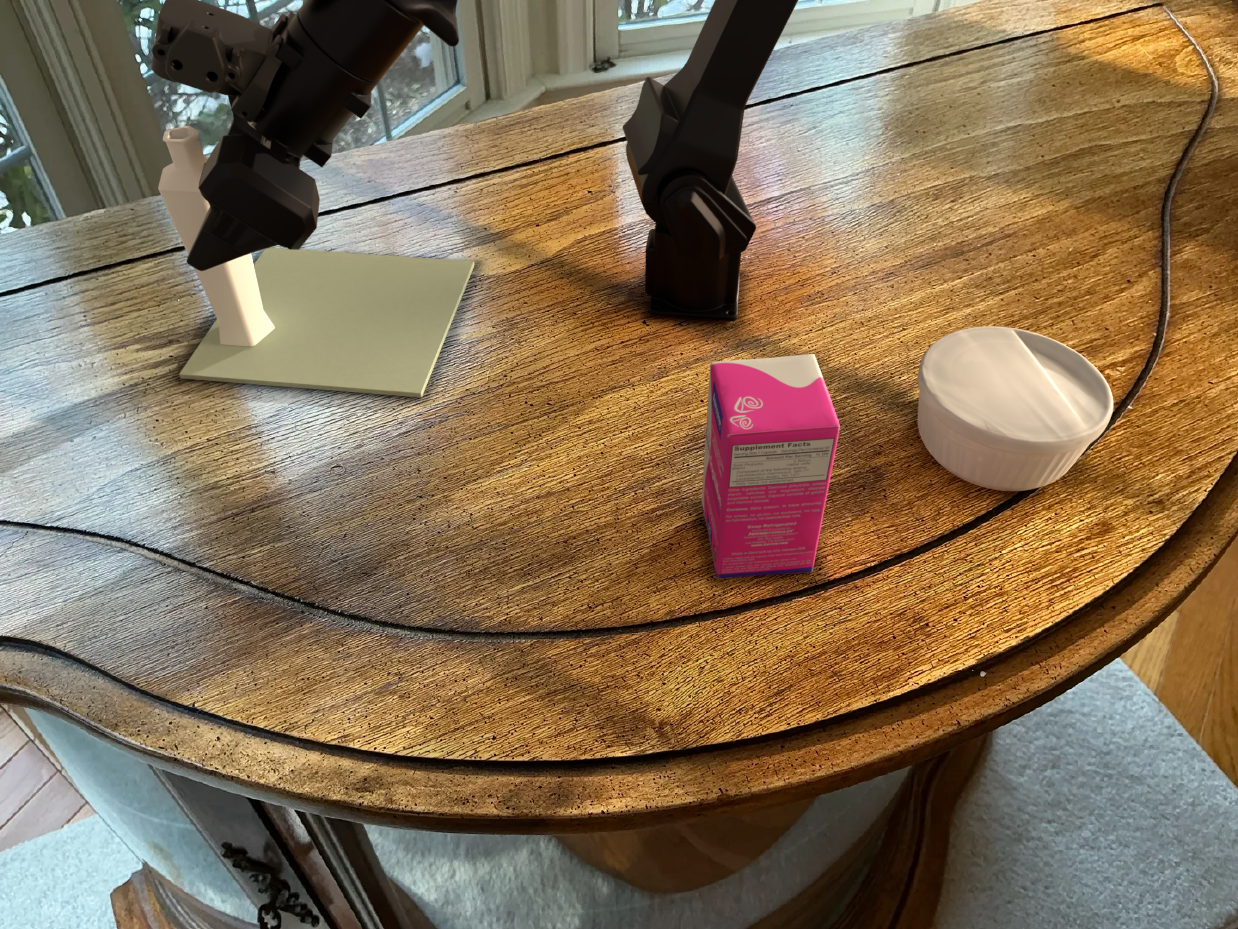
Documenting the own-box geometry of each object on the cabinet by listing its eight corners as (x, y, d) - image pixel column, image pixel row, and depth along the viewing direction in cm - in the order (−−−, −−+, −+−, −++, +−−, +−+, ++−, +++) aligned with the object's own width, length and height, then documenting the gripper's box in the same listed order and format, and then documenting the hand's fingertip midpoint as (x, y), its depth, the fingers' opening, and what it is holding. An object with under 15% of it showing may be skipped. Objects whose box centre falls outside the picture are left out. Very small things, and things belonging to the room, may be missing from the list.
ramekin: (1118, 448, 63) (1150, 385, 59) (1021, 536, 57) (1049, 472, 54) (969, 365, 69) (989, 302, 65) (868, 437, 63) (883, 374, 60)
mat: (474, 265, 77) (474, 261, 77) (421, 397, 66) (420, 393, 66) (266, 251, 79) (265, 247, 79) (180, 378, 68) (178, 374, 67)
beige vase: (221, 359, 68) (148, 159, 58) (206, 326, 71) (134, 129, 61) (286, 339, 70) (227, 140, 60) (269, 307, 73) (210, 112, 62)
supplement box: (696, 506, 59) (708, 356, 51) (793, 500, 59) (821, 350, 51) (711, 582, 55) (726, 432, 47) (815, 575, 55) (848, 425, 47)
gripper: (231, -104, 60) (110, 88, 66) (186, 11, 47) (40, 235, 53) (385, 20, 66) (260, 184, 73) (383, 152, 53) (231, 336, 60)
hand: (204, 227), depth 65 cm, fingers open, 9 cm apart
